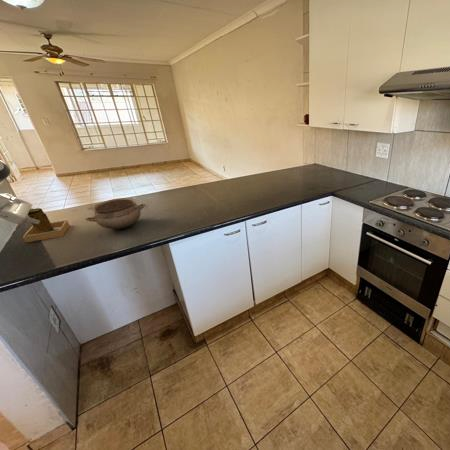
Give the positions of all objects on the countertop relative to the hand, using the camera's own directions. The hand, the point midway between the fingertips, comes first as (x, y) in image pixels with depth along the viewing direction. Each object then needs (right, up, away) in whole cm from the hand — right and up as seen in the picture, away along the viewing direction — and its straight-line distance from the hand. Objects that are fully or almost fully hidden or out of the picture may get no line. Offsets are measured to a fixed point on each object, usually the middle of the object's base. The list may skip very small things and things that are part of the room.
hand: (40, 218), depth 115 cm
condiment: (0, -7, +4) cm, 8 cm away
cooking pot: (+31, -4, +10) cm, 33 cm away
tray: (0, -7, +4) cm, 8 cm away
